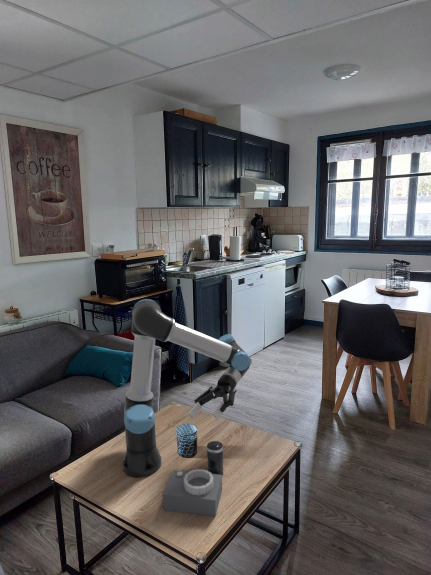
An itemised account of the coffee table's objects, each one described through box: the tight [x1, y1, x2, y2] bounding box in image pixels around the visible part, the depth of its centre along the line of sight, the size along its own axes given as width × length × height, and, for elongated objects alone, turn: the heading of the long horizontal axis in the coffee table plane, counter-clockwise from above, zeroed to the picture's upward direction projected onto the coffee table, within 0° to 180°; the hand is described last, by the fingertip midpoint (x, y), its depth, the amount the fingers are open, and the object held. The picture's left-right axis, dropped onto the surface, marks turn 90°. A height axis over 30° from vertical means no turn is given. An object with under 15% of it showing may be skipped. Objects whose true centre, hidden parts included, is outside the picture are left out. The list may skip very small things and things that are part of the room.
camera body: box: [162, 468, 223, 517], centre depth 138 cm, size 18×13×8 cm
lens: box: [206, 440, 224, 477], centre depth 151 cm, size 6×6×12 cm
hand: (202, 416), depth 154 cm, fingers open, 13 cm apart
